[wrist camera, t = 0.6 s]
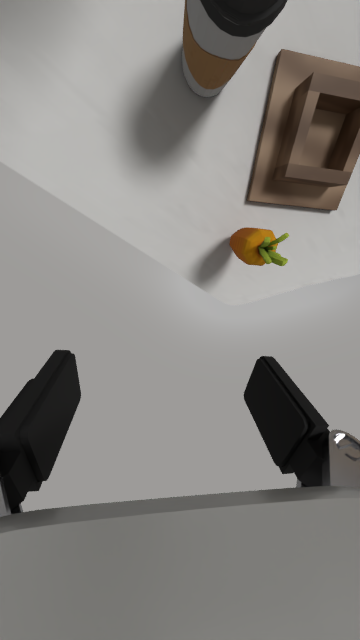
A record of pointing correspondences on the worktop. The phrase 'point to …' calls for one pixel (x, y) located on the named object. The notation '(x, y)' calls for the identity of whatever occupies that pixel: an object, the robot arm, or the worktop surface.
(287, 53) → the walnut stand
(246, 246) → the carrot
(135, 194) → the worktop surface
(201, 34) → the coffee cup
